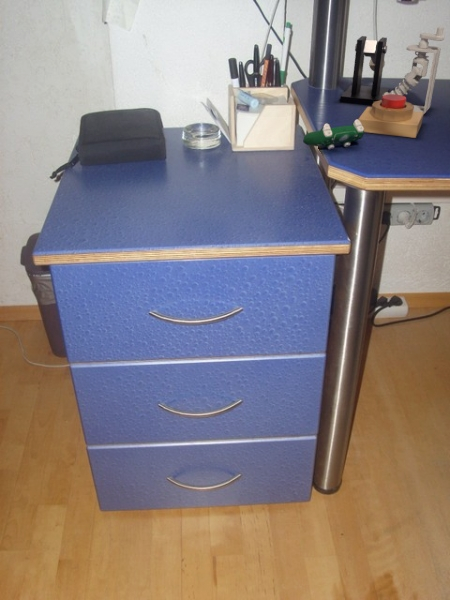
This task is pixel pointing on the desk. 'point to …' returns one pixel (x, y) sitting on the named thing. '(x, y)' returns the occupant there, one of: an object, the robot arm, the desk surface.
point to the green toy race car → (335, 135)
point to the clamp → (419, 72)
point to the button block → (391, 120)
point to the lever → (371, 52)
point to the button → (393, 101)
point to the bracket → (356, 91)
